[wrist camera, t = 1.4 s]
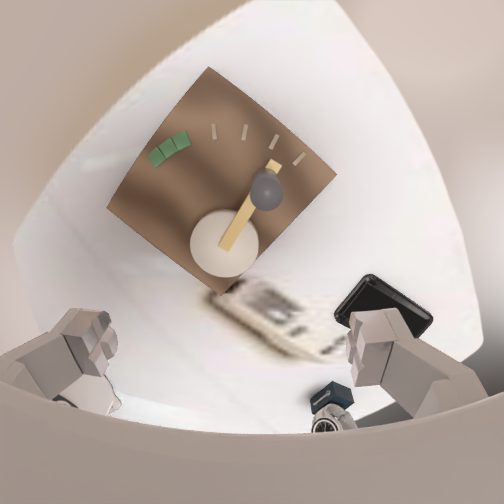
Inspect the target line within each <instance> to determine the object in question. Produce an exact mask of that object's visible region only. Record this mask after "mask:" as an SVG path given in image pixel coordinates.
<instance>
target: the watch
mask: <svg viewBox="0 0 504 504" xmlns="http://www.w3.org/2000/svg"><path fill="white" fill-rule="evenodd" d="M310 403H311V410H312V414H314V415H315V416H314V419H313V421H312V428H311V433H319V432H331V431H341V430H350V429H358V427H357V425H356V423H355V421H354V420H353V418H352V416H351V415H350V414H349V412H346V411H345V409H347V408H348V407H349V406H351V405H352V404H353V403H354V400H353V396H352V393H351V389H350V388H347V387H345V386H342V385H340V384H338V383H335V382H333V381H332V382H331V383H330V384H329V385H327V386H326V387H325V388H324V389H322V390H321V391H320V392H319V393H318V394H316V395H315V396H314V397H312V398H311V399H310ZM334 417H336V418H337V419H338V420H337V419H336V418H334Z"/></svg>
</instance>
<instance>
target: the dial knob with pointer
mask: <svg viewBox="0 0 504 504" xmlns="http://www.w3.org/2000/svg"><path fill="white" fill-rule="evenodd" d="M281 167H282V165H281V164H279V163H278V162H276V161H274V160H273V159H271V158H270V160H269V162H268V163H267V165H266V166H265V168H261V169H258V170H257V171H256V172H255V173H254V175H253V177H252V183H251V190H250V192H249V194H248V196H247V197H246V199H245V201H244V202H243V204H242V206H241V207H240V209H239V211H235V210H232V209H218V210H214V211H211V212H209V213H208V214H206V215H205V216H204V217H202V218H201V220H200V221H199V222H198V224H197V225H196V227H195V229H194V230H193V233H192V235H191V239H190V249H191V253H192V256H193V258H194V260H195V262H196V263H197V264H198V266H199V267H200V268H202V269H203V270H204V271H206V272H207V273H209V274H211V275H214V276H218V277H234V276H237V275H240V274H242V273H244V272H245V271H247V270H248V269H249V268H250V267H251V266H252V265H253V263H254V262H255V260H256V257H257V254H258V245H259V240H258V233H257V230H256V228H255V226H254V224H253V223H252V221H251V220H250V219H249V218H250V216H251V215H252V213H253V211H254V210H255V208H257V209H259V210H262V211H271V210H274V209H276V208H277V207H278V206H279V205H280V204H281V202H282V199H283V191H282V188H281V185H280V182H279V179H278V176H277V173H278V172H279V170H280V168H281Z"/></svg>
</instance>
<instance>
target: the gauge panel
mask: <svg viewBox="0 0 504 504" xmlns="http://www.w3.org/2000/svg"><path fill="white" fill-rule="evenodd" d="M270 158H271V159H273V160H274V161H276V162H278V163H279V164H281V165H282V167H281V168H280V170H279V172H278V173H277V176H278V179H279V182H280V185H281V188H282V191H283V199H282V202H281V204H280V205H279V206H278V207H277V208H276V209H274V210H271V211H262V210H259V209H257V208H255V210H254V211H253V213H252V215H251V216H250V218H249V219H250V220H251V221H252V223H253V224H254V226H255V228H256V230H257V233H258V240H259V245H258V254H257V257H256V259H257V258H258V257H259V256H260V255H261V254H262V253H263V252H264V251H265V250H266V249H267V248H268V247H269V246H270V245H271V244H272V242H273V241H274V240H275V239H276V238H277V237H278V236H279V235H280V234H281V233H282V232H283V231H284V230H285V229H286V228H287V227H288V226H289V225H290V224H291V223H292V222H293V221H294V219H295V218H296V217H297V216H298V215H299V214H300V213H301V212H302V211H303V210H304V209H305V208H306V207H307V206H308V205H309V204H310V203H311V202H312V201H313V199H314V198H315V197H316V196H317V195H318V194H319V193H320V192H321V191H322V190H323V189H324V188H325V187H326V186H327V185H328V184H329V183H330V182H331V181H332V179H333V178H334V177H335V176H336V175H337V174H336V173H335V172H334V171H333V170H332V169H331V168H330V167H329V166H328V165H327V164H326V163H325V162H324V161H323V160H322V159H321V158H319V157H318V156H317V155H316V154H315V153H314V152H313V151H312V150H311V149H310V148H309V147H308V146H307V145H305V144H304V143H303V142H302V141H301V140H300V139H299V138H298V137H297V136H295V135H294V134H293V133H292V132H291V131H290V130H289V129H287V128H286V127H285V126H284V125H283V124H282V123H280V122H279V121H278V120H277V119H276V118H275V117H273V116H272V115H271V114H270V113H269V112H267V111H266V110H265V109H264V108H262V107H261V106H260V105H259V104H258V103H256V102H255V101H254V100H253V99H251V98H250V97H249V96H248V95H246V94H245V93H244V92H242V91H241V90H240V89H238V88H237V87H236V86H235V85H233V84H232V83H231V82H229V81H228V80H227V79H225V78H224V77H223V76H221V75H220V74H218V73H217V72H216V71H214V70H213V69H211V68H210V67H208V68H207V69H206V70H205V71H204V72H203V73H202V75H201V76H200V77H199V78H198V79H197V80H196V82H195V83H194V84H193V85H192V86H191V87H190V89H189V90H188V91H187V92H186V93H185V95H184V96H183V97H182V98H181V100H180V101H179V102H178V103H177V105H176V106H175V107H174V108H173V110H172V111H171V112H170V114H169V115H168V116H167V118H166V119H165V120H164V121H163V123H162V124H161V125H160V127H159V128H158V130H157V131H156V132H155V134H154V135H153V136H152V138H151V139H150V141H149V142H148V143H147V145H146V146H145V148H144V149H143V151H142V152H141V154H140V155H139V157H138V158H137V159H136V161H135V162H134V164H133V166H132V167H131V169H130V170H129V172H128V173H127V175H126V176H125V178H124V179H123V181H122V183H121V184H120V186H119V188H118V189H117V191H116V192H115V194H114V196H113V197H112V199H111V201H110V202H109V204H108V206H107V209H109V210H110V211H111V212H112V213H113V214H115V215H116V216H117V217H118V218H120V219H121V220H122V221H123V222H125V223H126V224H127V225H128V226H130V227H131V228H132V229H133V230H135V231H136V232H137V233H138V234H140V235H141V236H142V237H143V238H145V239H146V240H147V241H148V242H150V243H151V244H152V245H154V246H155V247H156V248H157V249H159V250H160V251H161V252H163V253H164V254H165V255H167V256H168V257H169V258H170V259H172V260H173V261H174V262H176V263H177V264H178V265H180V266H181V267H182V268H184V269H185V270H186V271H188V272H189V273H190V274H192V275H193V276H194V277H196V278H197V279H198V280H200V281H201V282H203V283H204V284H205V285H207V286H208V287H209V288H211V289H212V290H214V291H215V292H216V293H218V294H219V295H220V296H221V295H222V294H223V293H224V292H225V291H226V290H227V289H228V288H229V287H230V286H231V285H232V284H233V283H234V282H235V281H236V280H237V279H238V278H239V277H240V276H241V275H242V274H243V273H242V274H240V275H237V276H234V277H218V276H214V275H211V274H209V273H207V272H206V271H204V270H203V269H202V268H200V267H199V266H198V264H197V263H196V262H195V260H194V258H193V256H192V253H191V249H190V239H191V235H192V233H193V230H194V229H195V227H196V225H197V224H198V222H199V221H200V220H201V218H202V217H204V216H205V215H206V214H208V213H209V212H211V211H214V210H218V209H232V210H235V211H239V209H240V207H241V206H242V204H243V202H244V201H245V199H246V197H247V196H248V194H249V192H250V190H251V183H252V177H253V175H254V173H255V172H256V171H257V170H258V169H261V168H265V166H266V165H267V163H268V162H269V160H270Z"/></svg>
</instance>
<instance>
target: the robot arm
mask: <svg viewBox="0 0 504 504" xmlns="http://www.w3.org/2000/svg"><path fill="white" fill-rule="evenodd" d="M110 323H111V319H110V317H109V314H108V313H107V312H105V311H98V310H89V309H78V308H73V309H70V310H69V311H68V312H67V313H66V314H65V315H64V317H63V318H62V319H61V320H60V321H59V322H58V323H57V325H56V326H55V327H54V328H53V329H52V330H51V332H50V333H49V332H46V333H44V334H42V335H40V336H38V337H36V338H34V339H32V340H30V341H28V342H27V343H25V344H23V345H21V346H19V347H17V348H15V349H13V350H11V351H9V352H7V353H5V354H3V355H2V356H0V504H504V392H502V393H499V394H497V395H494V396H491V397H488V395H487V393H486V392H485V390H484V388H483V386H482V384H481V383H480V381H479V379H478V377H477V375H476V374H475V372H474V371H473V370H471V369H470V368H468V367H467V366H465V365H463V364H461V363H460V362H458V361H456V360H455V359H453V358H451V357H450V356H448V355H446V354H444V353H443V352H441V351H439V350H438V349H436V348H434V347H432V346H431V345H429V344H427V343H426V342H424V341H422V340H420V339H419V338H416V339H414V337H413V335H412V334H411V332H410V330H409V328H408V326H407V325H406V323H405V321H404V319H403V317H402V316H401V314H400V312H399V310H398V309H397V308H389V309H381V310H374V311H361V312H351V315H350V320H349V324H350V327H351V330H350V331H349V332H348V334H347V340H346V353H347V359H348V362H349V363H351V364H352V368H351V375H352V378H353V382H354V386H355V387H361V386H372V385H380V386H381V387H382V388H383V389H384V390H385V391H386V392H387V393H388V394H389V395H390V396H391V397H392V398H393V399H395V400H396V401H397V402H398V403H399V404H400V405H401V406H402V407H403V408H404V409H405V410H406V411H407V412H408V413H410V414H411V416H413V417H414V419H411V420H406V421H402V422H396V423H391V424H385V425H379V426H373V427H366V428H358V429H350V430H341V431H331V432H319V433H303V434H231V433H215V432H203V431H193V430H184V429H176V428H168V427H161V426H155V425H149V424H143V423H138V422H133V421H128V420H123V419H118V418H114V417H109V416H107V415H108V414H109V413H111V412H113V411H116V410H118V409H119V408H120V407H121V402H120V401H119V400H118V399H117V397H116V396H115V395H114V392H113V389H112V387H111V385H110V383H109V381H108V380H107V379H106V377H105V376H104V375H103V374H104V372H105V370H106V369H107V367H108V365H109V363H108V359H110V358H111V357H113V356H114V354H115V353H116V351H117V345H118V340H117V335H116V333H115V331H114V330H113V329H112V328H111V327H110Z"/></svg>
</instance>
